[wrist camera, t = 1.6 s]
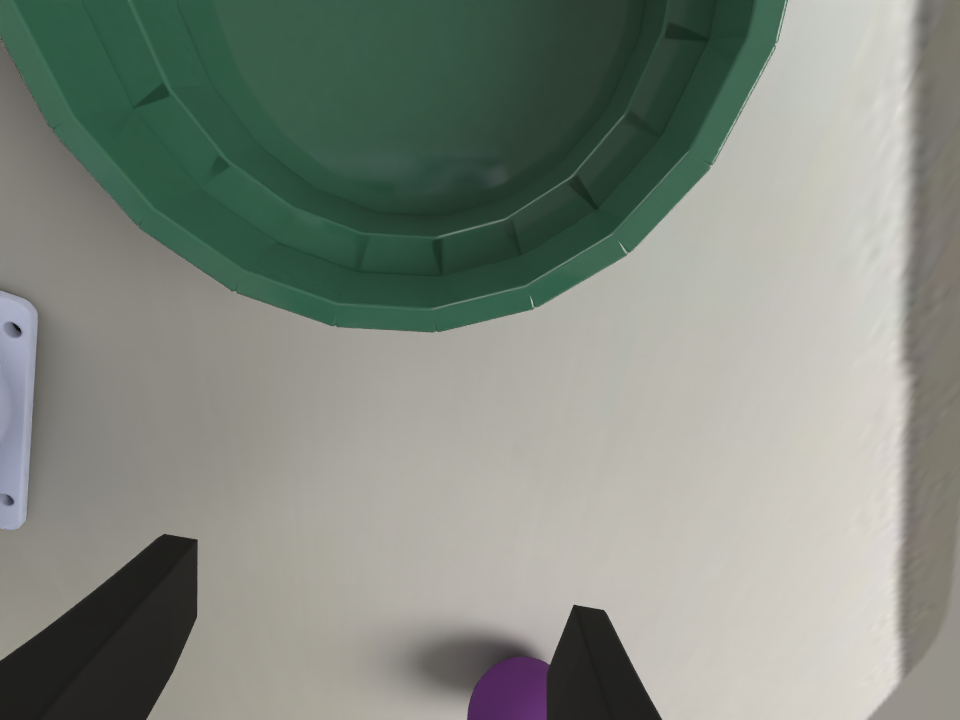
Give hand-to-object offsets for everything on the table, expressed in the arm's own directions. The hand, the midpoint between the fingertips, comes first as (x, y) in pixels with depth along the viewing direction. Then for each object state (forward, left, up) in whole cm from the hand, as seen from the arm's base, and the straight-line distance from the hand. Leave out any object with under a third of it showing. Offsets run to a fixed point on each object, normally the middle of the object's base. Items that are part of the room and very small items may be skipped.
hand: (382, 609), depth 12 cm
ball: (-12, -8, -7) cm, 16 cm away
